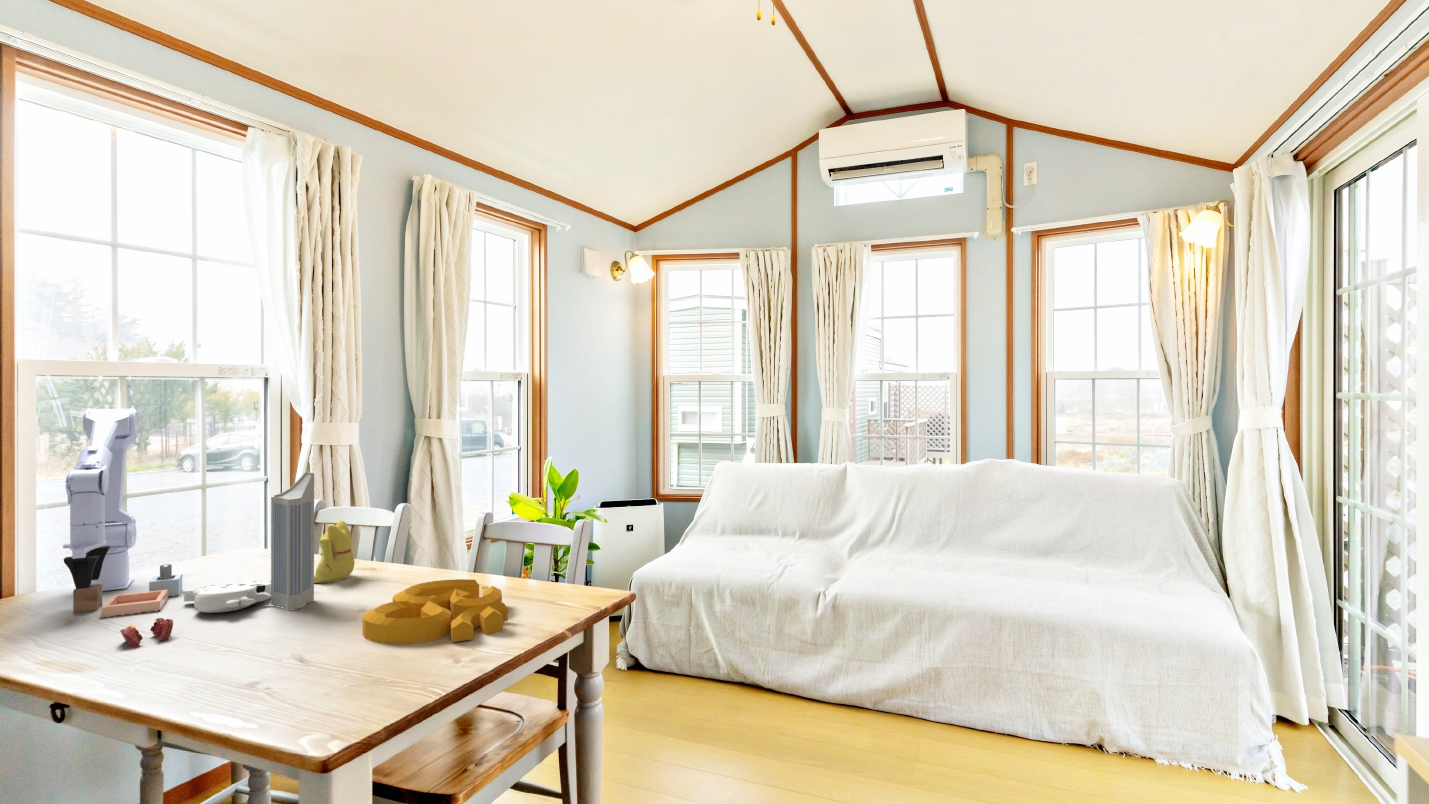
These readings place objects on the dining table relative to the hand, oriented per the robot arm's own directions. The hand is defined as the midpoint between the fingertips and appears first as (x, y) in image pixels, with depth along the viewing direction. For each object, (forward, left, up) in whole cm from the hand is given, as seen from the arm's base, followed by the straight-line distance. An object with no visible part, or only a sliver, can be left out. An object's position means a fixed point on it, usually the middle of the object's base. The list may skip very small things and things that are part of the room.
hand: (87, 584), depth 154 cm
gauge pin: (-5, +13, -6) cm, 15 cm away
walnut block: (0, 0, -6) cm, 6 cm away
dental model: (+30, +15, -6) cm, 34 cm away
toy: (+10, +27, -6) cm, 29 cm away
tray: (+4, +9, -6) cm, 11 cm away
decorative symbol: (+45, +68, -6) cm, 82 cm away
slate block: (-6, +13, -6) cm, 15 cm away
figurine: (-1, +48, -6) cm, 48 cm away
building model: (+17, +39, -6) cm, 43 cm away
